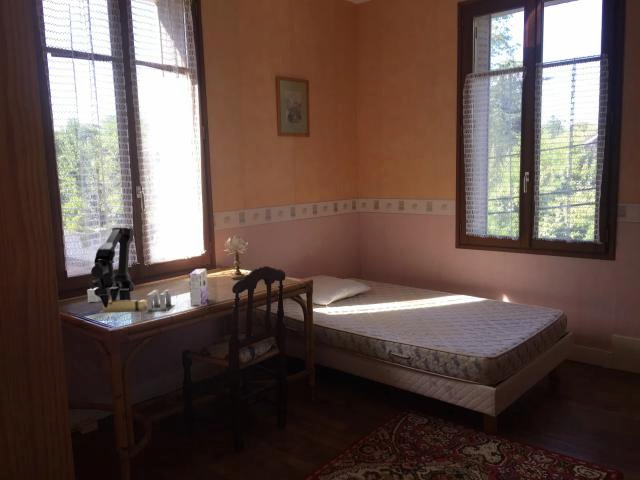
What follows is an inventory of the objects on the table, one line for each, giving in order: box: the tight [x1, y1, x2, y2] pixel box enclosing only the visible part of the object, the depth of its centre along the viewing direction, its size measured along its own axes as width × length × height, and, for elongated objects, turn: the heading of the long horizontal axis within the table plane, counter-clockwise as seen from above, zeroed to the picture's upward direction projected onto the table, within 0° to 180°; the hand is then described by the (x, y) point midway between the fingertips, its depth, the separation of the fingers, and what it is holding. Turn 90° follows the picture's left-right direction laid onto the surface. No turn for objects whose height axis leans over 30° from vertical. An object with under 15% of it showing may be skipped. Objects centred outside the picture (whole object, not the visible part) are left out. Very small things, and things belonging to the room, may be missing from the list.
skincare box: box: [86, 287, 102, 304], centre depth 282 cm, size 6×6×7 cm
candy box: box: [188, 268, 209, 307], centre depth 273 cm, size 14×6×16 cm, turn 178°
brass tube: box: [102, 298, 148, 311], centre depth 261 cm, size 4×20×4 cm, turn 89°
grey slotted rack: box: [97, 288, 176, 314], centre depth 261 cm, size 12×34×9 cm, turn 89°
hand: (109, 305), depth 261 cm, fingers open, 9 cm apart
